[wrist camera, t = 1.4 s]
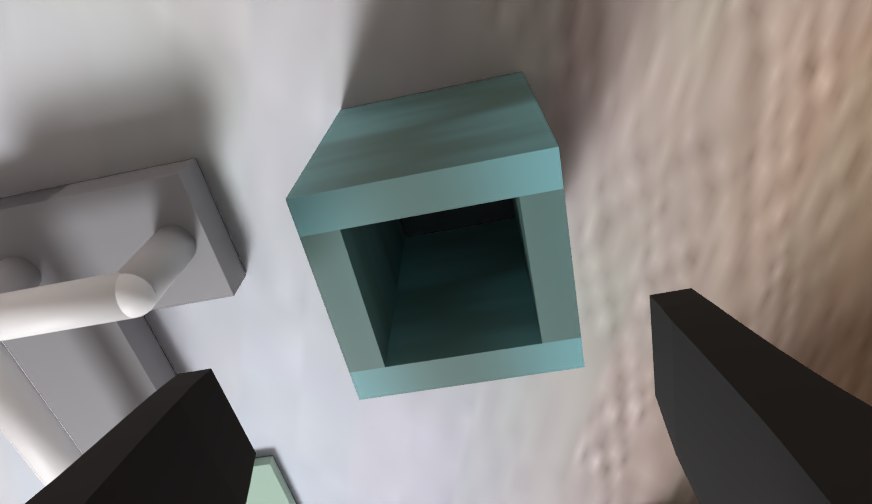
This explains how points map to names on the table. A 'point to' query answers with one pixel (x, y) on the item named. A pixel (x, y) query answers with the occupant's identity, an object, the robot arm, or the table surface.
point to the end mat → (268, 484)
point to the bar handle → (98, 300)
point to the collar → (441, 239)
